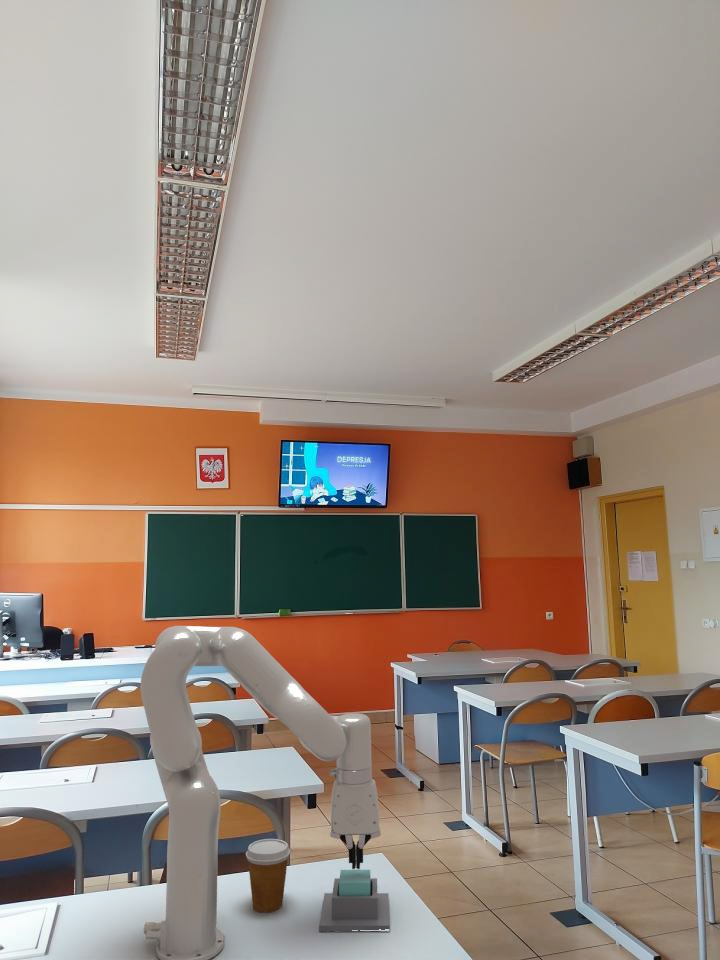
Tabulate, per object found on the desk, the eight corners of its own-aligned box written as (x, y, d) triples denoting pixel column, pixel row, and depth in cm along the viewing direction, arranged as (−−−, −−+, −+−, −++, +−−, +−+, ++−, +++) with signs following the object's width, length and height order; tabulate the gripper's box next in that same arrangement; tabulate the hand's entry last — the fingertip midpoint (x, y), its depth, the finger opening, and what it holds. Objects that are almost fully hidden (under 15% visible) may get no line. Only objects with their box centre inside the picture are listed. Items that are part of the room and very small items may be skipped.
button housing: (319, 932, 135) (318, 903, 136) (324, 899, 149) (324, 873, 149) (389, 932, 134) (389, 903, 135) (388, 899, 148) (388, 873, 149)
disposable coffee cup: (295, 911, 143) (295, 850, 145) (250, 920, 140) (251, 857, 142) (283, 892, 152) (283, 835, 154) (241, 900, 149) (241, 841, 150)
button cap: (339, 903, 139) (338, 882, 140) (340, 889, 145) (340, 869, 146) (370, 903, 139) (370, 882, 139) (370, 889, 145) (370, 869, 146)
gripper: (318, 780, 142) (319, 874, 139) (389, 779, 142) (392, 873, 139) (320, 770, 149) (322, 859, 147) (388, 769, 149) (391, 858, 147)
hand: (356, 866), depth 143 cm, fingers closed
